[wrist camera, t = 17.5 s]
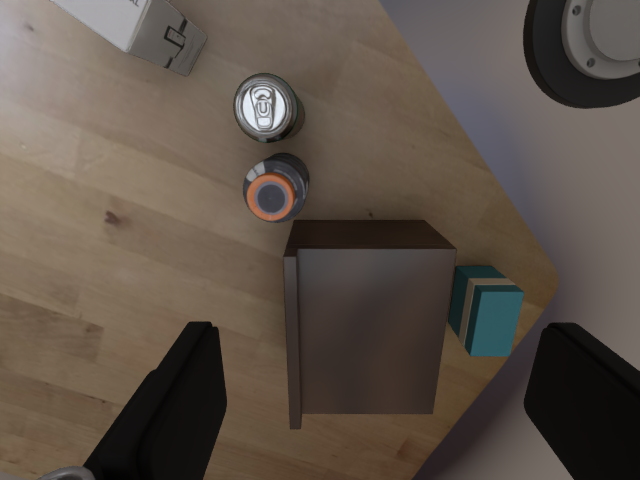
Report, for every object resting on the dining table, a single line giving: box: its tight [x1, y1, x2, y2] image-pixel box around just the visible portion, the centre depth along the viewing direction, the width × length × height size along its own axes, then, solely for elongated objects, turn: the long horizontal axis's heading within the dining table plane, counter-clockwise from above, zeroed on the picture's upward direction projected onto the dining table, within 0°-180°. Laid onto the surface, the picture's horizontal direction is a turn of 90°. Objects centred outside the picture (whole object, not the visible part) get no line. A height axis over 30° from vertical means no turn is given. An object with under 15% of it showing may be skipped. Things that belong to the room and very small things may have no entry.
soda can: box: [233, 73, 305, 143], centre depth 30 cm, size 5×5×12 cm
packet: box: [448, 266, 524, 356], centre depth 39 cm, size 5×8×7 cm, turn 0°
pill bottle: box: [243, 153, 309, 223], centre depth 32 cm, size 6×6×11 cm
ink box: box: [50, 0, 207, 76], centre depth 27 cm, size 9×5×12 cm, turn 55°
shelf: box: [283, 220, 457, 429], centre depth 37 cm, size 16×20×12 cm
